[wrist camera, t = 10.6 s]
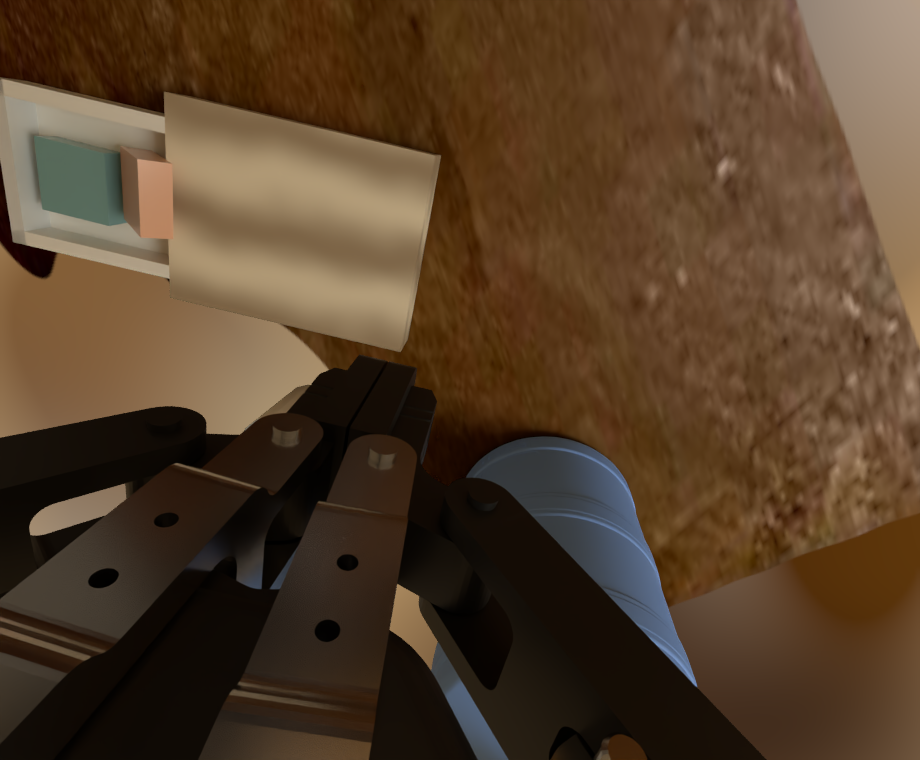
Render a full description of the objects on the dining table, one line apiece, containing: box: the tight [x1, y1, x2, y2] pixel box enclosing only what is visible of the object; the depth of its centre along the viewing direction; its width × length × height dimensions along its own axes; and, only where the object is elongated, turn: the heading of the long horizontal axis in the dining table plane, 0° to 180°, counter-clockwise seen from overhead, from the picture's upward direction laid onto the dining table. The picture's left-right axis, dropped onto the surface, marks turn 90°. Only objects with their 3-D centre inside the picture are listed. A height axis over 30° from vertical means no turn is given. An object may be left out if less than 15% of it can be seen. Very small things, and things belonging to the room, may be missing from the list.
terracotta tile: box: [120, 146, 173, 239], centre depth 36 cm, size 5×5×2 cm
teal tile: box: [34, 136, 127, 226], centre depth 37 cm, size 5×5×2 cm
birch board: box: [164, 92, 441, 352], centre depth 37 cm, size 14×18×3 cm
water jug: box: [431, 436, 697, 760], centre depth 34 cm, size 16×16×28 cm
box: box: [0, 77, 170, 279], centre depth 37 cm, size 11×12×3 cm
